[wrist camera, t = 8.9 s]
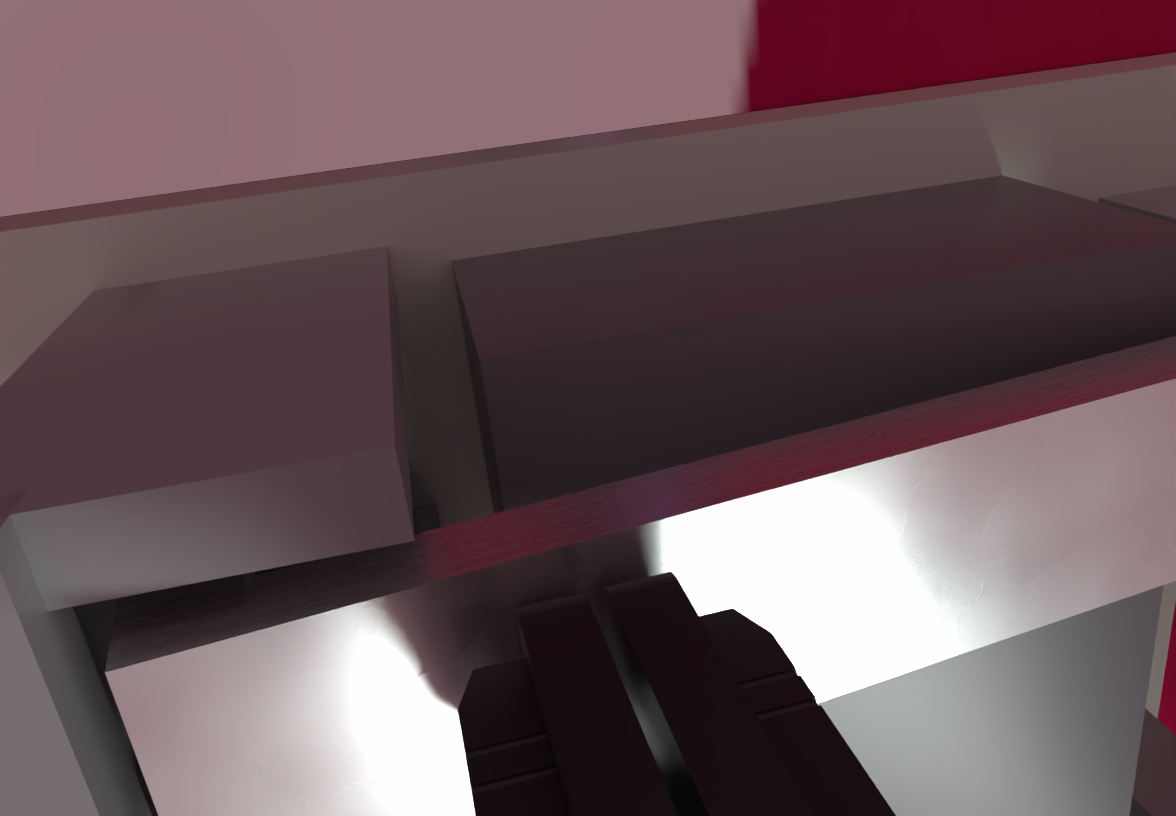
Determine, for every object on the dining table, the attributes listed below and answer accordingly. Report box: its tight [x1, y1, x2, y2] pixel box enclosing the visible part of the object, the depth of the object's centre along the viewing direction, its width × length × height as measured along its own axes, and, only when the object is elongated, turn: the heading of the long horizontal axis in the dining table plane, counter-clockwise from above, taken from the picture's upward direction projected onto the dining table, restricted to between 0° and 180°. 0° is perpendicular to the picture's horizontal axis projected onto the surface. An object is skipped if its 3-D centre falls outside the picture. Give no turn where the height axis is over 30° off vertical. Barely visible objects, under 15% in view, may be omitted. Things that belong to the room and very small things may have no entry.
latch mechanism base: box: [0, 52, 1176, 816], centre depth 17 cm, size 23×20×10 cm
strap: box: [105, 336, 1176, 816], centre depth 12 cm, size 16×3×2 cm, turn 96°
